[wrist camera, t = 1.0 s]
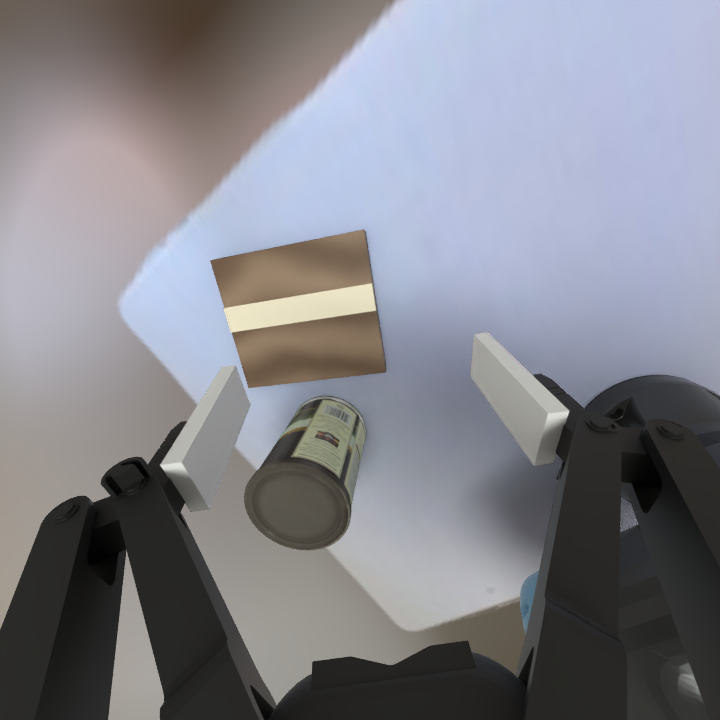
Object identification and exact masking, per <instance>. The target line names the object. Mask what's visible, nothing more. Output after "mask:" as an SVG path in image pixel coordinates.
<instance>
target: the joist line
mask: <svg viewBox="0 0 720 720" xmlns="http://www.w3.org/2000/svg"><path fill="white" fill-rule="evenodd" d="M224 311H225V315H226V318H227V321H228V324H229V328H230V331H231V332H238V331H244V330H251V329H258V328H264V327H271V326H278V325H284V324H291V323H297V322H304V321H311V320H317V319H324V318H330V317H337V316H344V315H350V314H357V313H363V312H370V311H376V306H375V299H374V293H373V286H372V283H371V284H365V285H359V286H353V287H347V288H341V289H335V290H329V291H323V292H317V293H311V294H305V295H299V296H293V297H287V298H281V299H275V300H269V301H263V302H257V303H251V304H245V305H239V306H233V307H227V308H224Z"/></svg>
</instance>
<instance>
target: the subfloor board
mask: <svg viewBox="0 0 720 720" xmlns="http://www.w3.org/2000/svg"><path fill="white" fill-rule="evenodd" d="M210 261H211V265H212V268H213V271H214V275H215V278H216V281H217V285H218V288H219V291H220V295H221V298H222V301H223V305H224V308H227V307H233V306H239V305H245V304H251V303H257V302H263V301H269V300H275V299H281V298H287V297H293V296H299V295H305V294H311V293H317V292H323V291H329V290H335V289H341V288H347V287H353V286H359V285H365V284H371V283H372V286H373V293H374V299H375V306H376V311H370V312H363V313H357V314H350V315H344V316H337V317H330V318H324V319H317V320H311V321H304V322H297V323H291V324H284V325H278V326H271V327H264V328H258V329H251V330H244V331H238V332H232V334H233V338H234V341H235V344H236V348H237V351H238V354H239V358H240V361H241V364H242V368H243V371H244V374H245V378H246V381H247V384H248V388H253V387H262V386H270V385H279V384H288V383H297V382H305V381H314V380H323V379H331V378H340V377H349V376H358V375H366V374H375V373H384V372H386V363H385V356H384V350H383V343H382V337H381V330H380V324H379V317H378V310H377V304H376V297H375V291H374V284H373V278H372V271H371V264H370V258H369V251H368V245H367V238H366V232H365V230H360V231H355V232H350V233H345V234H340V235H335V236H330V237H325V238H320V239H315V240H310V241H305V242H300V243H295V244H290V245H285V246H280V247H275V248H270V249H265V250H260V251H255V252H250V253H245V254H240V255H235V256H230V257H225V258H220V259H215V260H210Z"/></svg>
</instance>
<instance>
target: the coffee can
mask: <svg viewBox="0 0 720 720" xmlns="http://www.w3.org/2000/svg"><path fill="white" fill-rule="evenodd" d="M365 437H366V428H365V424H364V421H363V418H362V417H361V415H360V413H359V412H358V411H357V410H356V409H355V408H354V407H353V406H352V405H350V404H349V403H347V402H346V401H344V400H341V399H339V398H335V397H328V396H322V397H316V398H313V399H310V400H309V401H307V402H305V403H304V404H303V405H301V406H300V408H299V409H298V410H297V412H296V414H295V416H294V418H293V419H292V420H291V422H290V423H289V425H288V427H287V428H286V430H285V431H284V433H283V434H282V436H281V437H280V439H279V440H278V442H277V443H276V445H275V446H274V447H273V449H272V450H271V452H270V453H269V455H268V456H267V458H266V459H265V461H264V462H263V464H262V465H261V467H260V468H259V470H257V471H256V472H255V474H254V475H253V476H252V478H251V479H250V480H249V482H248V484H247V486H246V489H245V494H244V502H245V508H246V511H247V514H248V515H249V518H250V519H251V521H252V523H253V524H254V525H255V526H256V528H257V529H258V530H259V531H260V532H262V533H263V534H264V535H265V536H266V537H268V538H269V539H271V540H272V541H274V542H276V543H278V544H280V545H283V546H285V547H289V548H292V549H298V550H317V549H321V548H325V547H328V546H330V545H332V544H334V543H335V542H337V541H338V540H339V539H340V538H341V537H342V536H343V535H344V534H345V532H346V531H347V529H348V526H349V523H350V518H351V506H352V500H353V495H354V490H355V485H356V479H357V474H358V469H359V464H360V459H361V454H362V449H363V444H364V441H365Z"/></svg>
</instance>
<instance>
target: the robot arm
mask: <svg viewBox="0 0 720 720" xmlns="http://www.w3.org/2000/svg"><path fill="white" fill-rule="evenodd" d="M470 376H471V378H472V379H473V381H474V382H475V383H476V385H477V386H478V388H479V389H480V390H481V392H482V393H483V395H484V396H485V398H486V399H487V400H488V402H489V403H490V405H491V406H492V407H493V409H494V410H495V412H496V413H497V415H498V416H499V417H500V419H501V420H502V422H503V423H504V424H505V426H506V427H507V429H508V430H509V431H510V433H511V434H512V436H513V437H514V439H515V440H516V441H517V443H518V444H519V446H520V447H521V448H522V450H523V451H524V453H525V454H526V456H527V457H528V458H529V460H530V461H531V463H532V464H533V465H534V466H539V465H546V464H553V461H554V458H555V455H556V453H557V454H558V456H559V457H560V458H561V459H562V460H563V462H562V465H561V468H560V471H559V474H558V477H557V480H558V483H557V488H556V492H555V497H554V502H553V507H552V512H551V517H550V521H549V526H548V531H547V536H546V541H545V545H544V550H543V555H542V560H541V565H540V569H539V571H538V572H536V573H534V574H532V575H530V576H529V577H528V578H527V579H526V580H525V581H524V583H523V585H522V588H521V593H520V608H521V614H522V619H523V626H524V630H525V634H526V636H525V641H524V645H523V648H522V652H521V655H520V659H519V663H518V668H517V672H516V676H515V675H514V674H513V673H512V672H511V671H509V670H508V669H507V668H505V667H504V666H502V665H501V664H499V663H498V662H496V661H494V660H492V659H490V658H488V657H486V656H483V655H481V654H478V653H474V652H471V649H470V646H469V642H468V641H462V642H455V643H447V644H440V645H433V646H429V647H427V648H425V649H423V650H421V651H419V652H417V653H416V654H414V655H412V656H410V657H408V658H406V659H404V660H402V661H401V662H399V663H397V664H394V665H385V664H381V663H377V662H372V661H368V660H364V659H359V658H355V657H344V658H336V659H329V660H322V661H314V662H313V663H312V674H311V675H309V676H307V677H305V678H304V679H303V680H301V681H300V682H298V683H297V684H296V685H295V686H294V687H293V688H292V689H291V690H290V691H289V692H288V693H287V694H286V695H285V696H284V697H283V699H282V700H281V701H280V702H279V703H278V705H276V703H275V701H274V699H273V697H272V696H271V693H270V692H269V690H268V688H267V687H266V685H265V683H264V682H263V680H262V678H261V677H260V674H259V673H258V671H257V669H256V667H255V665H254V662H253V660H252V658H251V656H250V654H249V652H248V650H247V648H246V646H245V644H244V642H243V639H242V638H241V635H240V633H239V631H238V629H237V627H236V625H235V623H234V621H233V619H232V617H231V615H230V613H229V610H228V608H227V606H226V604H225V602H224V600H223V598H222V596H221V594H220V592H219V590H218V587H217V585H216V583H215V581H214V579H213V577H212V575H211V573H210V571H209V569H208V567H207V565H206V562H205V560H204V558H203V556H202V554H201V552H200V550H199V548H198V546H197V544H196V542H195V540H194V538H193V535H192V534H191V531H190V529H189V527H188V525H187V523H186V521H185V519H184V517H183V515H182V514H181V510H182V508H183V506H184V504H185V503H186V505H187V507H188V508H189V510H190V511H191V512H193V511H200V510H208V509H210V507H211V505H212V502H213V500H214V497H215V495H216V492H217V489H218V487H219V484H220V482H221V479H222V477H223V474H224V471H225V469H226V466H227V464H228V461H229V459H230V456H231V453H232V451H233V448H234V446H235V443H236V441H237V438H238V436H239V433H240V431H241V428H242V425H243V423H244V420H245V418H246V415H247V413H248V410H249V407H250V402H249V400H248V397H247V394H246V392H245V389H244V386H243V384H242V381H241V378H240V376H239V373H238V371H237V368H236V365H235V366H227V367H221V369H220V371H219V372H218V374H217V375H216V377H215V379H214V380H213V382H212V383H211V385H210V386H209V388H208V390H207V391H206V393H205V394H204V396H203V398H202V399H201V401H200V402H199V404H198V406H197V407H196V409H195V410H194V412H193V413H192V415H191V417H190V418H189V420H188V421H184V422H180V423H179V424H178V425H177V426H176V427H174V428H173V429H172V430H171V431H170V433H169V434H168V436H167V437H166V439H165V441H164V442H163V443H162V445H161V446H160V448H159V449H158V451H157V452H156V453H155V455H154V456H153V458H152V459H151V461H150V462H149V464H148V465H147V463H146V462H145V460H144V459H143V458H142V457H132V458H128V459H126V460H123V461H121V462H119V463H118V464H116V465H114V466H113V467H112V468H110V469H109V470H108V471H107V472H106V473H105V475H104V476H103V478H102V480H101V485H102V486H103V487H104V488H105V489H106V491H107V492H108V493H109V494H110V495H111V496H110V497H107V498H104V499H102V500H99V501H96V502H94V503H93V502H92V501H91V500H90V499H89V498H88V497H86V496H77V497H74V498H71V499H69V500H67V501H65V502H63V503H61V504H60V505H58V506H57V507H55V508H54V509H53V510H52V511H51V512H50V513H49V514H48V515H47V516H46V517H45V519H44V520H43V522H42V523H41V526H40V529H39V531H38V534H37V537H36V539H35V542H34V544H33V547H32V549H31V552H30V554H29V557H28V560H27V562H26V565H25V567H24V570H23V573H22V575H21V578H20V580H19V583H18V586H17V588H16V591H15V593H14V596H13V598H12V601H11V604H10V606H9V609H8V611H7V614H6V617H5V619H4V622H3V624H2V627H1V629H0V720H108V715H109V704H110V696H111V686H112V677H113V669H114V659H115V650H116V640H117V631H118V622H119V613H120V604H121V595H122V585H123V576H124V566H125V558H126V549H127V553H128V557H129V561H130V565H131V568H132V572H133V576H134V580H135V584H136V587H137V592H138V596H139V599H140V603H141V607H142V611H143V615H144V619H145V623H146V626H147V630H148V634H149V638H150V642H151V646H152V650H153V654H154V657H155V661H156V665H157V669H158V673H159V677H160V681H161V685H162V688H163V693H164V703H163V705H162V706H161V708H160V720H720V396H719V395H718V394H716V393H715V392H713V391H711V390H709V389H707V388H705V387H703V386H700V385H698V384H695V383H693V382H691V381H688V380H685V379H682V378H679V377H674V376H664V375H654V376H644V377H639V378H635V379H631V380H628V381H625V382H622V383H620V384H618V385H616V386H614V387H612V388H610V389H608V390H607V391H605V392H603V393H602V394H601V395H599V396H598V397H597V398H596V399H594V400H593V401H592V402H591V403H590V404H589V405H588V407H587V408H586V409H584V408H583V407H582V406H581V405H580V404H578V403H577V402H576V401H575V400H574V399H573V398H572V397H571V396H570V395H568V394H566V392H565V391H564V390H563V389H562V388H560V386H558V385H557V384H556V383H555V382H554V381H553V380H552V379H550V378H548V377H546V376H544V375H542V374H535V375H532V374H531V373H530V372H529V371H528V370H526V369H525V368H524V367H523V366H522V365H521V364H520V363H519V362H518V361H517V360H516V359H515V358H514V357H513V356H512V355H511V354H510V353H509V352H508V351H507V350H506V349H505V348H504V347H503V346H502V345H501V344H500V343H498V342H497V341H496V340H495V339H494V338H493V337H492V336H491V335H490V334H489V333H488V332H487V333H479V334H474V340H473V351H472V362H471V373H470ZM621 497H623V498H624V499H625V500H627V501H628V502H630V503H631V504H632V507H633V510H634V512H635V515H636V518H637V521H638V523H639V525H637V526H633V527H631V528H629V529H627V530H625V531H622V532H620V504H621Z"/></svg>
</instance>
